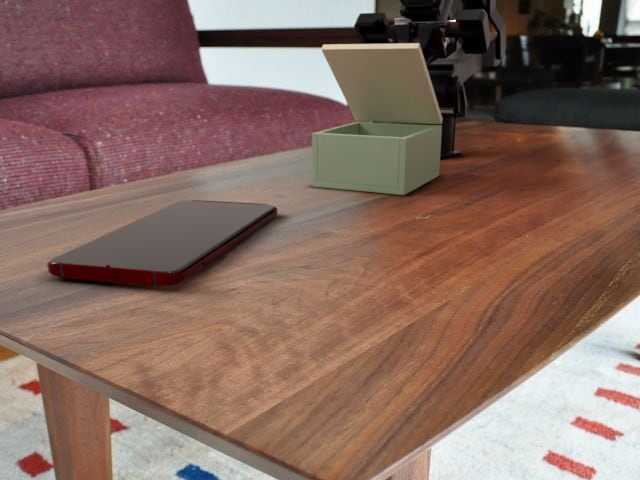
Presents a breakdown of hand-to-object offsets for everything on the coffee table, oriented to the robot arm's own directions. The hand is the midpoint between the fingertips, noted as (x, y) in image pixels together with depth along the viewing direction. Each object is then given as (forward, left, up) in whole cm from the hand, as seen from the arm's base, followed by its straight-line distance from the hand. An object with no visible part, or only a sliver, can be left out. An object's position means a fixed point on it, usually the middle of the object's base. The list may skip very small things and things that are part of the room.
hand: (404, 78), depth 92 cm
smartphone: (+42, +14, -13) cm, 46 cm away
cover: (+7, +3, -1) cm, 8 cm away
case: (+8, +4, -13) cm, 15 cm away
